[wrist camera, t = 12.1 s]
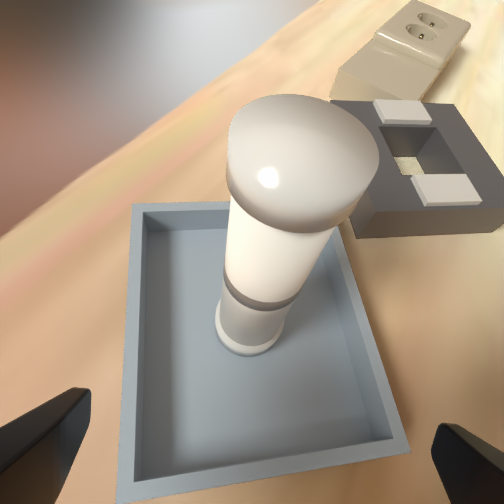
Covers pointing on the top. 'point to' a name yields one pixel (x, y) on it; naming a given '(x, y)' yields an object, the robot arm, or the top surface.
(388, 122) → the socket block
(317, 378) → the parts tray
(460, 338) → the top surface
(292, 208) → the light bulb
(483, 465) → the robot arm
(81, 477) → the top surface
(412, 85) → the electrical outlet
